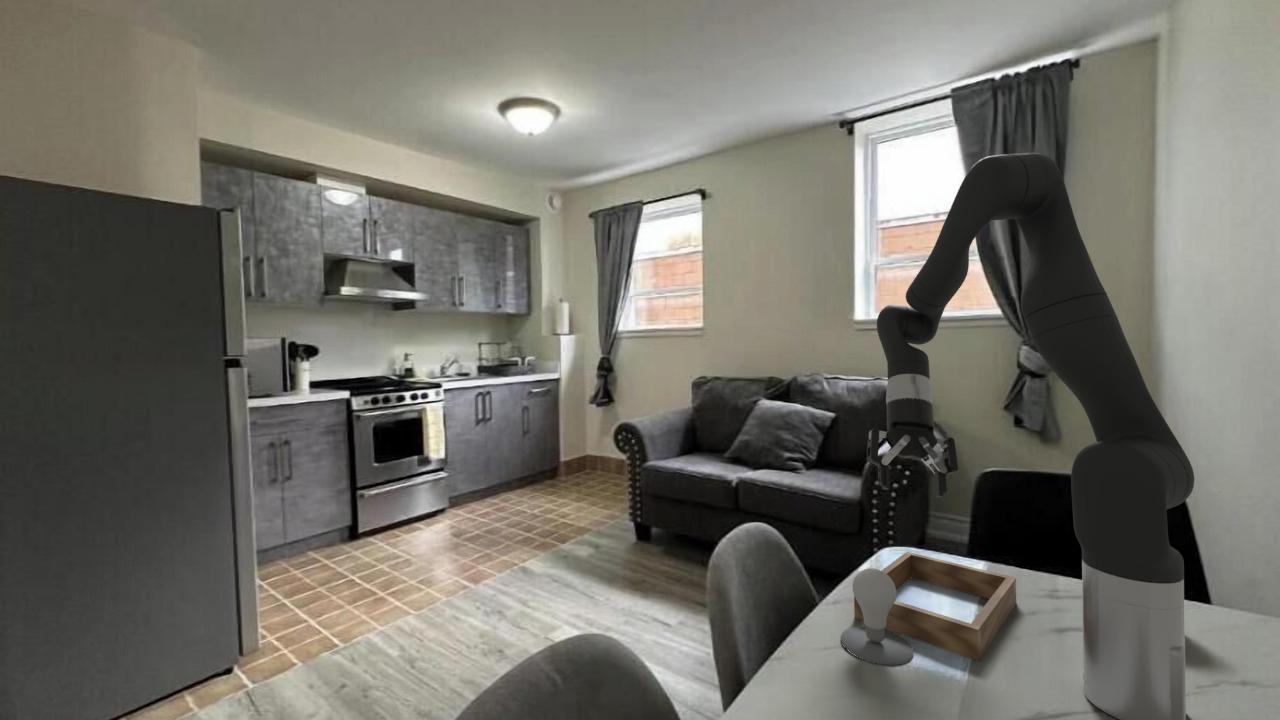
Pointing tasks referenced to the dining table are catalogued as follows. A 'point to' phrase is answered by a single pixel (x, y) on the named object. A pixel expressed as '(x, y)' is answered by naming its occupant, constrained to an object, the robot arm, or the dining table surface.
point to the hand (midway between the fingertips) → (912, 492)
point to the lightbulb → (874, 600)
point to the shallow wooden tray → (942, 628)
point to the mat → (877, 646)
